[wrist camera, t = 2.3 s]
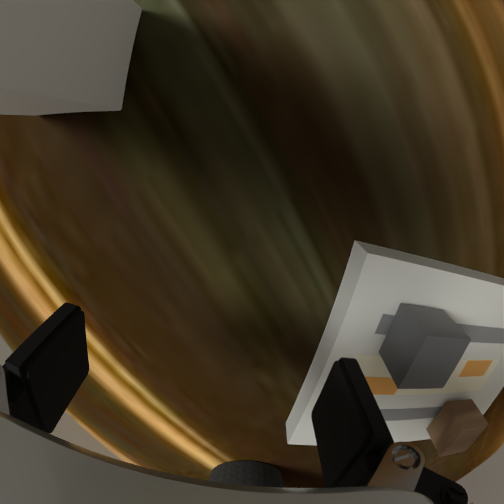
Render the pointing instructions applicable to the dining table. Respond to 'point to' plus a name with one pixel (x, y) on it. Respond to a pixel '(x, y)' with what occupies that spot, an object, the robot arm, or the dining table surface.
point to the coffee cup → (247, 474)
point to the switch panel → (378, 323)
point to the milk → (65, 55)
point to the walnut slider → (456, 427)
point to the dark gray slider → (422, 347)
